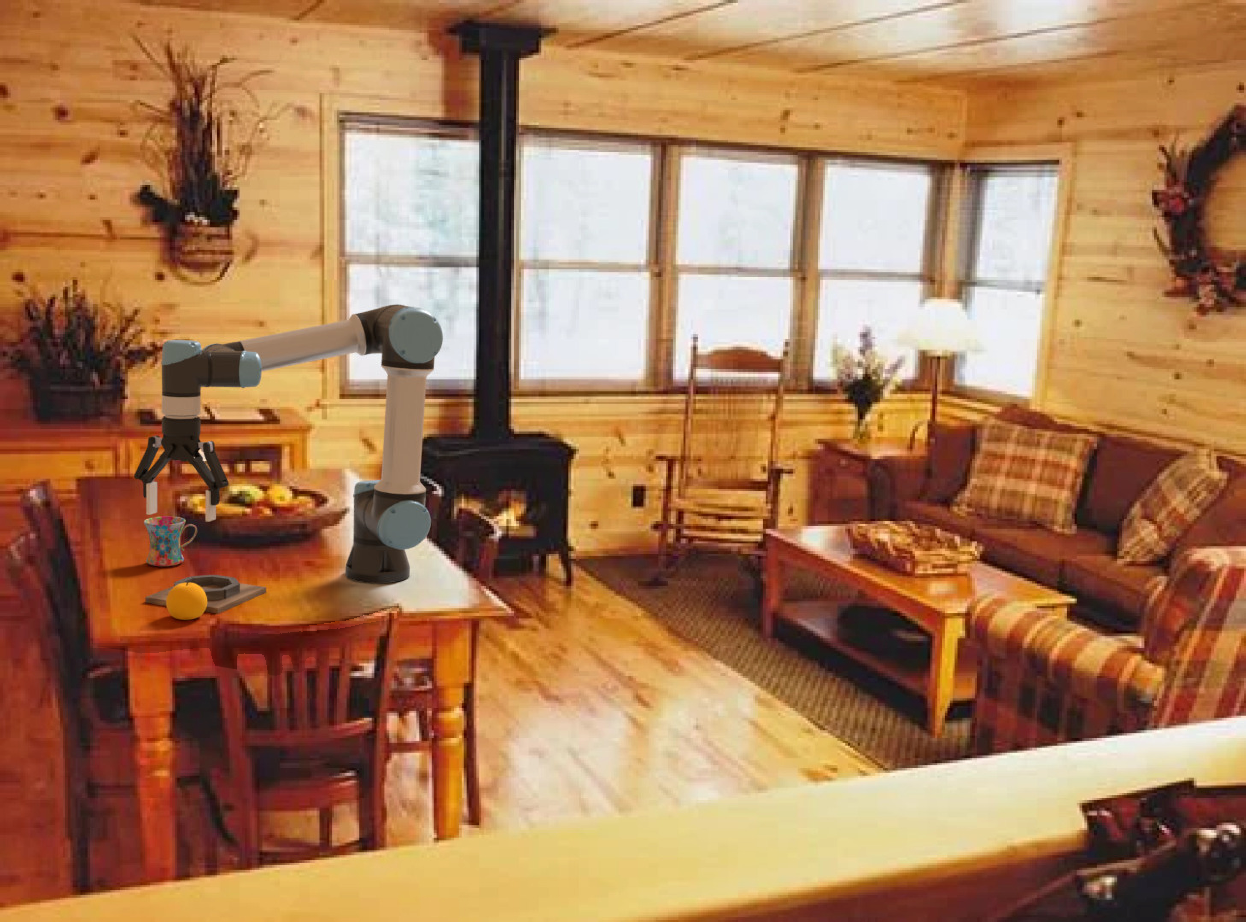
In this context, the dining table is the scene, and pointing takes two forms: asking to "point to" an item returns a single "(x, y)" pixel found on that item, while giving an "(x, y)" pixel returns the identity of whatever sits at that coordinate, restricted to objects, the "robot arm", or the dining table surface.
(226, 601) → the ring board
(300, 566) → the dining table surface
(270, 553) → the dining table surface
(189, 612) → the orange fruit
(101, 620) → the dining table surface
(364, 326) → the robot arm
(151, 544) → the mug
